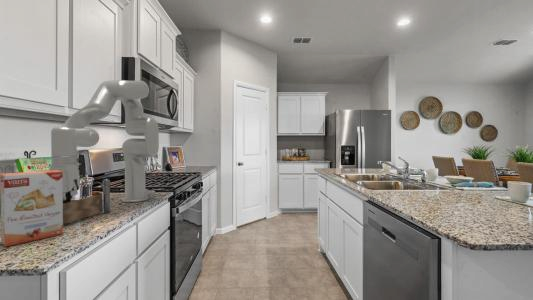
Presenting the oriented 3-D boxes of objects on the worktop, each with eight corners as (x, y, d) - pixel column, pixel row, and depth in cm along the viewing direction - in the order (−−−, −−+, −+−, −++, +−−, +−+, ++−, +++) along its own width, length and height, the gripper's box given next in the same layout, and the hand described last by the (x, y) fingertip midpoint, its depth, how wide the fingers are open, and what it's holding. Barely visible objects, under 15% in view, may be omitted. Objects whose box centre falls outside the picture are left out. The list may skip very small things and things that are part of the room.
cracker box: (5, 248, 77) (3, 174, 76) (0, 243, 80) (-2, 173, 79) (64, 234, 88) (63, 170, 87) (58, 230, 91) (56, 169, 91)
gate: (99, 211, 113) (99, 193, 113) (103, 211, 113) (103, 194, 113) (51, 226, 93) (51, 205, 92) (55, 226, 92) (55, 205, 92)
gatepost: (109, 211, 116) (109, 178, 116) (111, 213, 114) (111, 178, 113) (101, 212, 114) (101, 178, 113) (103, 214, 112) (103, 179, 111)
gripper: (38, 161, 98) (39, 211, 98) (70, 162, 94) (71, 214, 94) (58, 159, 105) (59, 206, 106) (89, 160, 101) (90, 209, 102)
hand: (65, 210), depth 100 cm, fingers closed
